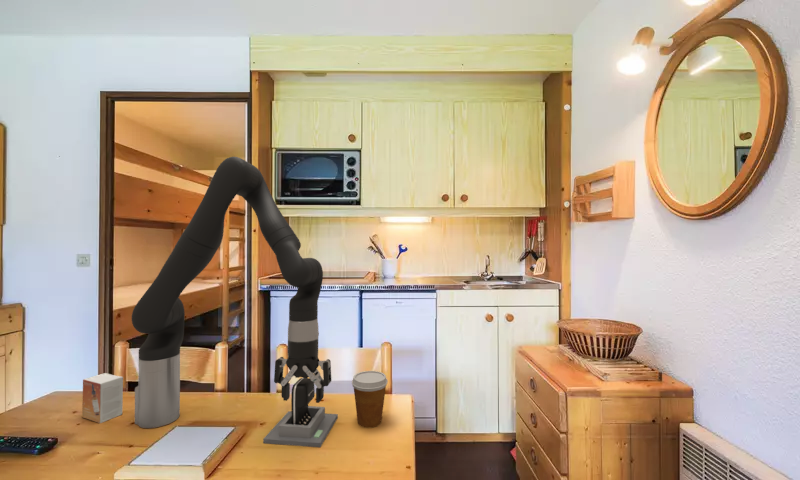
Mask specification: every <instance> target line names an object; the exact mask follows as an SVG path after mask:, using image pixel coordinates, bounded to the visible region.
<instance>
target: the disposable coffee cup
mask: <svg viewBox="0 0 800 480" xmlns="http://www.w3.org/2000/svg"><path fill="white" fill-rule="evenodd" d="M351 385H352V387H353V392H354V393H353V394H354V401H355V410H356V419H357V424H358V426H360V427H362V428H367V429H369V428H376V427H378V426H379V425H381V424H382V421H383V420H382V419H383V411H384V405H385V395H386V386H387V385H388V378H387V375H386V374H385V373H384V372H381V371H377V370H365V371H360V372H358V373H355V374H354V376H353V379H351Z"/></svg>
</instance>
